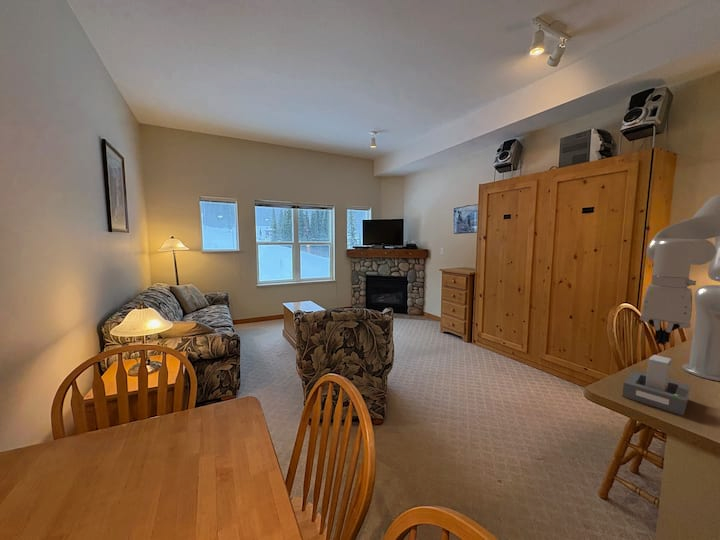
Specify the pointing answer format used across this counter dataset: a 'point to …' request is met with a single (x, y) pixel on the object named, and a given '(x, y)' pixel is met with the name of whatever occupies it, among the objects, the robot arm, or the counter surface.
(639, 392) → the port block
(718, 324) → the robot arm
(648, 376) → the skincare box
